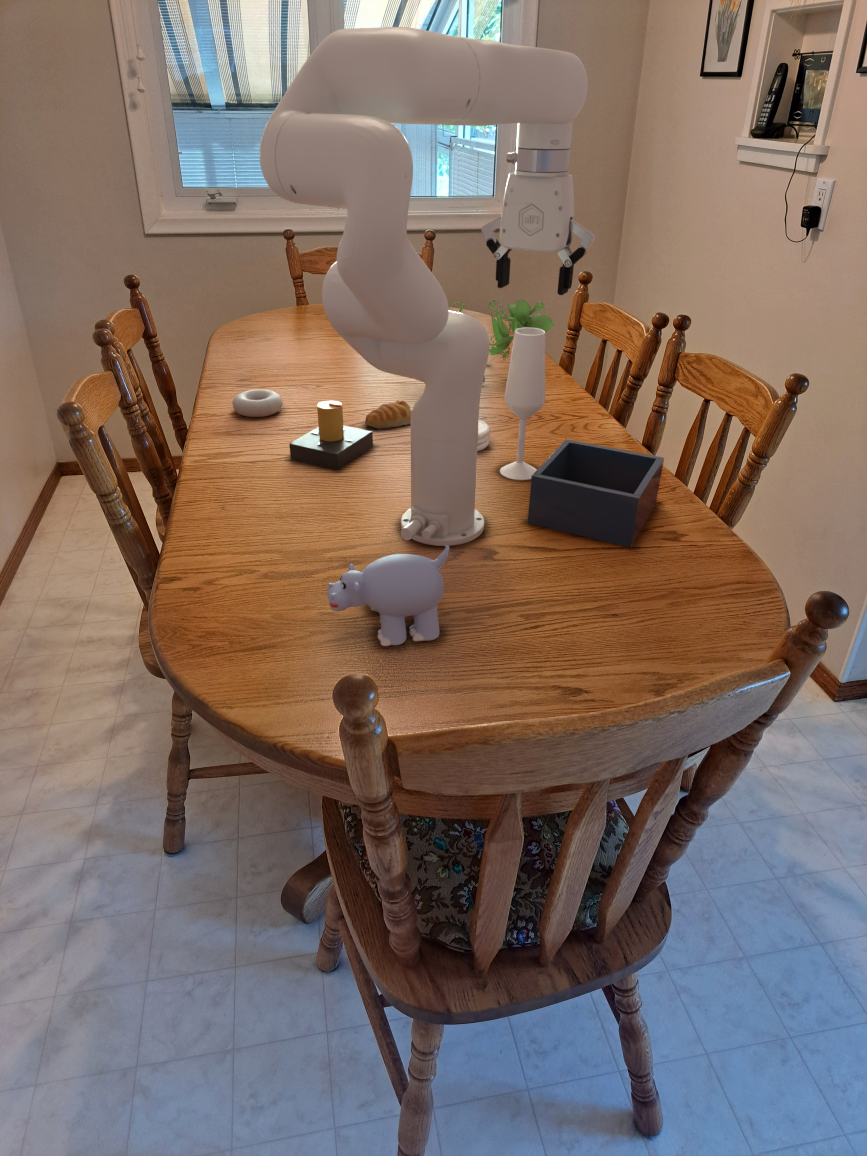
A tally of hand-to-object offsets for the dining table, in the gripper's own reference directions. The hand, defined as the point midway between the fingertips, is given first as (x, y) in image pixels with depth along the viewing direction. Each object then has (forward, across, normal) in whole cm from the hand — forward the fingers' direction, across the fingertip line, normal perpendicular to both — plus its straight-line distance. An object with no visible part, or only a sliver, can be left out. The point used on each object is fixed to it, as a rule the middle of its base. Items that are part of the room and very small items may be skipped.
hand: (532, 289), depth 119 cm
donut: (+31, -58, +3) cm, 66 cm away
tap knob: (+27, -33, -8) cm, 44 cm away
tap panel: (+30, -33, -8) cm, 46 cm away
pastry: (+31, -31, +10) cm, 45 cm away
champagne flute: (+31, 0, 0) cm, 31 cm away
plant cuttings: (+31, -29, +42) cm, 59 cm away
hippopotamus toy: (+31, +2, -49) cm, 58 cm away
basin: (+30, +16, -9) cm, 35 cm away
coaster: (+31, -14, +7) cm, 34 cm away
